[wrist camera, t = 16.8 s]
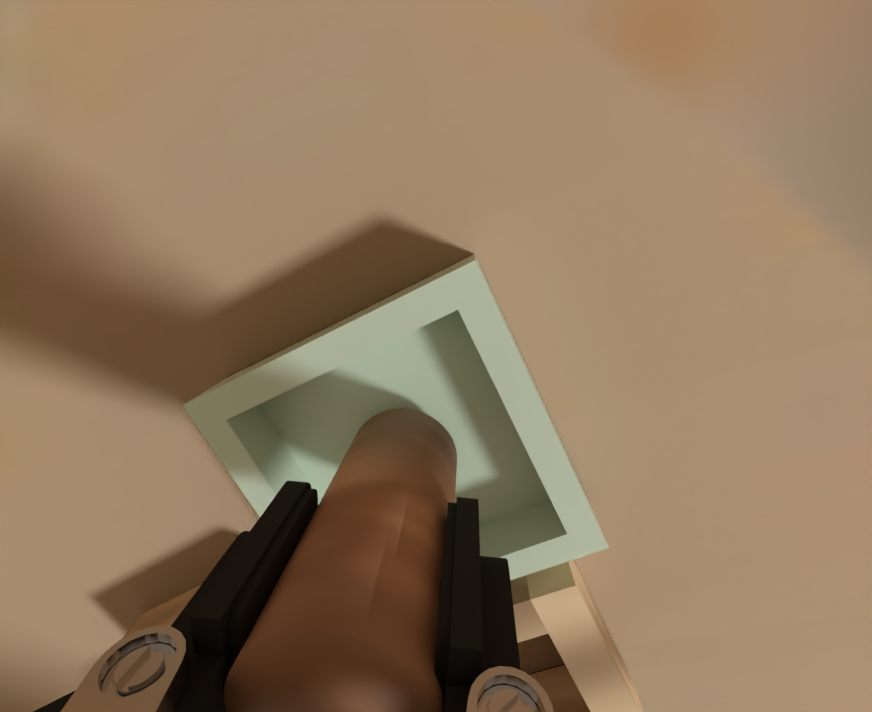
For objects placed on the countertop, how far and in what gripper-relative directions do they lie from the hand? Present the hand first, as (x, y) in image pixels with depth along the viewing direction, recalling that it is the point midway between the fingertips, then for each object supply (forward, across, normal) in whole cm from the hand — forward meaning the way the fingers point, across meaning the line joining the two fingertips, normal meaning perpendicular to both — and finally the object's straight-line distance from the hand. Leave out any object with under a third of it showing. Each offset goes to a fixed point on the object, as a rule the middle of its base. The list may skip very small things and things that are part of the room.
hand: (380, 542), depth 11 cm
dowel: (+4, 0, 0) cm, 4 cm away
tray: (+5, 0, 0) cm, 5 cm away
